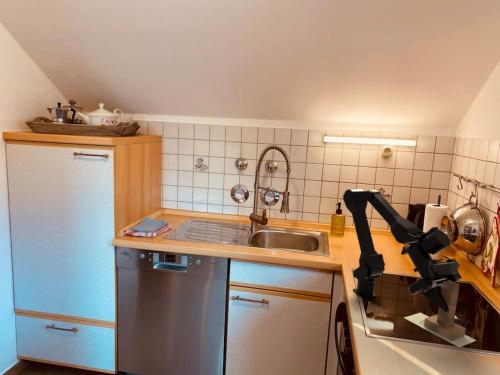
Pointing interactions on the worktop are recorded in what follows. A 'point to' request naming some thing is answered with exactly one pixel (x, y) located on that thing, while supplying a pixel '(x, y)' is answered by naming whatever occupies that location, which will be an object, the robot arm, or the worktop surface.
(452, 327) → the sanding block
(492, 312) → the worktop surface
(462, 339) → the board
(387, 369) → the worktop surface
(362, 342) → the worktop surface
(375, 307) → the shard
